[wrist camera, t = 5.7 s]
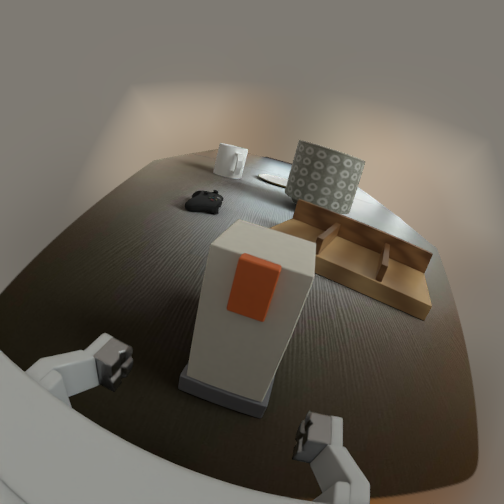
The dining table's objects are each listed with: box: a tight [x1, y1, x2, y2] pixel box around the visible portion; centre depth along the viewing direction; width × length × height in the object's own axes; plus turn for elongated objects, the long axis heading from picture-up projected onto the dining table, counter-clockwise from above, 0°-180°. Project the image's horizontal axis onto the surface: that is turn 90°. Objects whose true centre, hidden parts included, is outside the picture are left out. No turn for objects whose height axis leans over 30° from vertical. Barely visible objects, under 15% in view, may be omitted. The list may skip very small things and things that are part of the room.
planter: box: [285, 140, 365, 214], centre depth 78 cm, size 19×19×18 cm
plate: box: [258, 174, 288, 188], centre depth 115 cm, size 21×21×1 cm
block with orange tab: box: [178, 219, 316, 418], centre depth 21 cm, size 6×12×11 cm, turn 167°
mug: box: [213, 143, 248, 179], centre depth 99 cm, size 14×10×11 cm
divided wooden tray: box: [269, 199, 433, 321], centre depth 46 cm, size 28×16×6 cm, turn 62°
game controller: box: [185, 190, 223, 214], centre depth 58 cm, size 10×5×6 cm
